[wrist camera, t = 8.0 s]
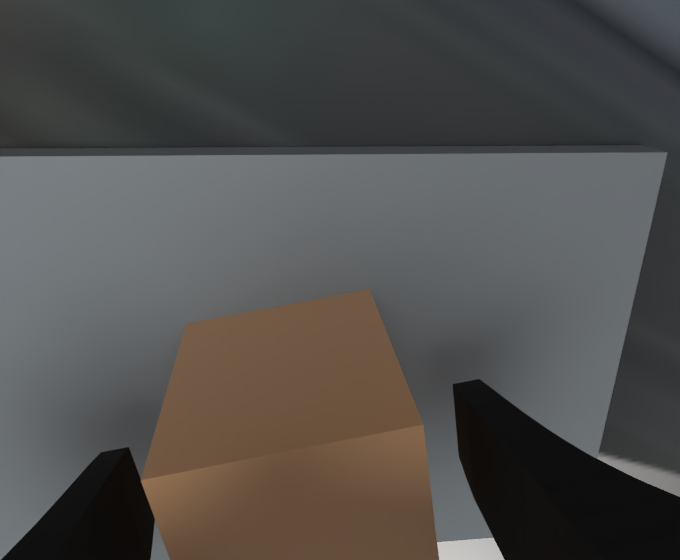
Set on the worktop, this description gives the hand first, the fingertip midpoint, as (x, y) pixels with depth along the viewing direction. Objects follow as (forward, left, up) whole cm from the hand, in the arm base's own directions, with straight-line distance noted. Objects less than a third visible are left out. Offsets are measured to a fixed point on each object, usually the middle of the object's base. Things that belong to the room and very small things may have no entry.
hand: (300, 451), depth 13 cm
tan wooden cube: (0, 0, -3) cm, 3 cm away
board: (0, 0, -4) cm, 4 cm away
